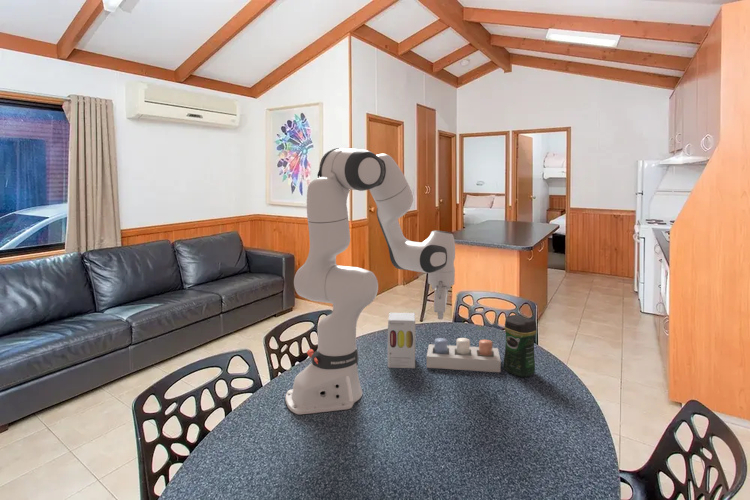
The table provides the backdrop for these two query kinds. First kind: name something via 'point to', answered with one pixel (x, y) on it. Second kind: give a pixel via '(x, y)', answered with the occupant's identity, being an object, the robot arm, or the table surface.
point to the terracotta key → (485, 347)
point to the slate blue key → (440, 346)
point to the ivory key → (463, 345)
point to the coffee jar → (519, 346)
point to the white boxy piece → (464, 359)
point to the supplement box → (401, 340)
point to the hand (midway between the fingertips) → (440, 318)
